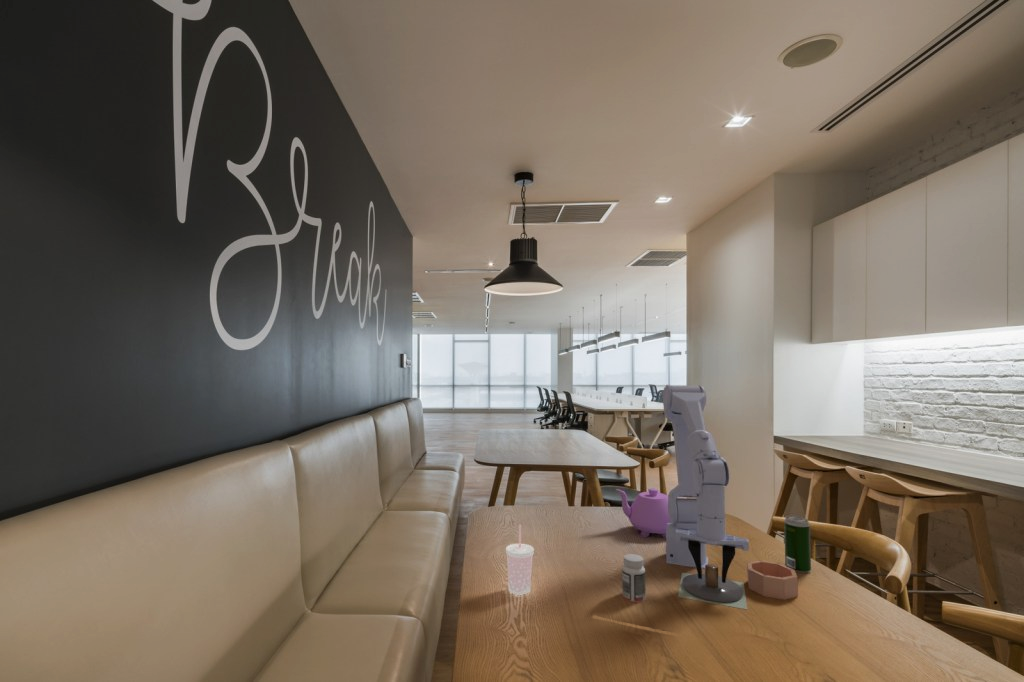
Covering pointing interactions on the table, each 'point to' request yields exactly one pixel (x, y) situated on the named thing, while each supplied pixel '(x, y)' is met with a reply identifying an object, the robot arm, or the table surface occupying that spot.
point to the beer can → (797, 544)
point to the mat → (685, 594)
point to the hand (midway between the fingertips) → (711, 578)
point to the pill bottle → (633, 578)
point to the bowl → (772, 579)
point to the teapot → (647, 512)
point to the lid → (712, 586)
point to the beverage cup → (519, 566)
